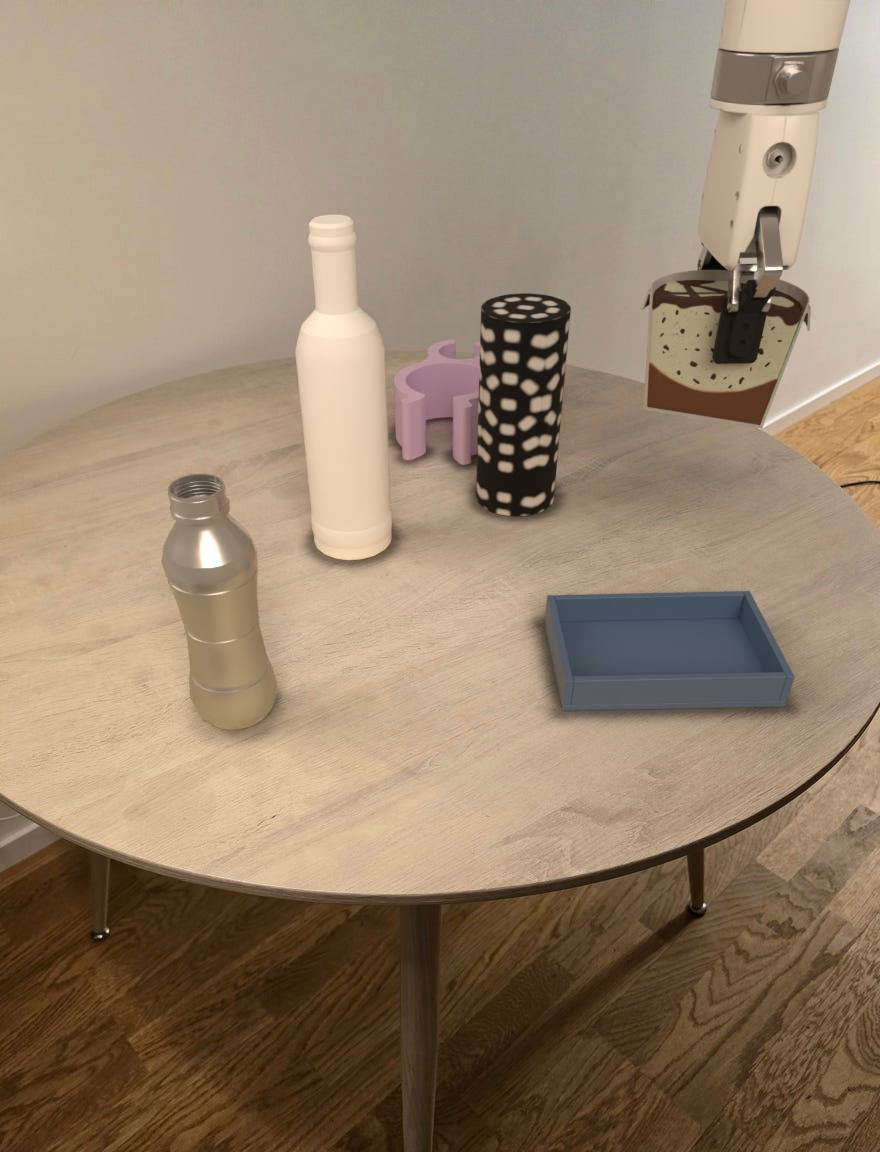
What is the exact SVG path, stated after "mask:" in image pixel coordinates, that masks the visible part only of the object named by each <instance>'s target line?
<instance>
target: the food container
mask: <svg viewBox="0 0 880 1152" xmlns="http://www.w3.org/2000/svg"><path fill="white" fill-rule="evenodd" d="M728 276H729V270H697V269H695V270H694V269H693V270H685V271H684V270H683V271H678V272H674V273H669V274H666V275H663V276H661V277H658V278H656V279H654V281H653V282H652V283H651V284H650V285H651V286H650V288H649V289H648V290H647V291H646V294H645V296H644V299H643V302H642V304H641V307H640V310H641V311H643V310H645V308H647V307H648V306H649V308H648V322H647V324H648V325H647V326H648V327H647V342H646V343H647V345H646V363H645V378H644V379H645V380H644V394H643V395H644V396H643V399H644V400H643V411H649V412H655V413H660V414H661V413H662V414H667V415H672V416H673V415H674V416H679V417H680V416H681V417H686V418H692V419H698V420H704V421H711V422H717V423H723V424H729V425H735V426H740V427H741V426H742V427H746V428H747V427H748V428H754V429H760V430H762V429H763V427H764V425H765V423H766V419H767V417H768V414H769V412H770V409H771V407H772V404H773V401H774V398H775V396H776V393H777V391H778V389H779V386H780V384H781V380H782V378H783V376H784V372H785V370H786V368H787V365H788V362H789V359H790V357H791V354H792V351H793V350H794V347H795V344H796V341H797V338H798V336H799V334H800V331H801V328H802V325H803V323H804V324H805V326H806V332H810V330H811V313H812V307H811V304H810V296H809V294H808V293H807V292H806V291H805V290H804V289H802V288H801V287H799V286H797V285H796V284H793V283H791V282H788V281H786V280H783V279H781V278H780V279H779V280H778V282H777V284H776V285H775V287H776V290H775V292H774V293H773V295H772V297H771V305H770V309H769V311H768V312H767V316H766V320H765V325H764V329H763V334H762V338H761V343H760V347H759V352H758V356H757V360H756V361H755V362H754V363H746V364H716V363H715V362H714V361H713V359H712V356H713V350H714V345H715V340H716V335H717V330H718V324H719V319H720V314H721V309H722V308H727V299H728ZM753 279H754V276H741V286H740V291H741V290H742V288H743V287H744V285H745V284H746V282H747V281H748V280H753Z"/></svg>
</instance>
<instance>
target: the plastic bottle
mask: <svg viewBox="0 0 880 1152" xmlns="http://www.w3.org/2000/svg"><path fill="white" fill-rule="evenodd" d="M167 495H168V500H169V504H170V506H169V511H170V515H171V518H172V519H173V520H174V523H173V525H172V527H171V529H170V530H169V532H168V534H167V537H166V538H165V541H164V544H163V546H162V553H161V554H162V555H161V564H162V568H163V572H164V574H165V577H166V580H167V583H168V585H169V587H170V590H171V592H172V595H173V598H174V600H175V603H176V605H177V608H178V611H179V614H180V617H181V621H182V625H183V628H184V633H185V635H186V643H187V651H188V660H189V661H188V663H189V677H188V680H189V681H188V685H189V687H188V688H189V696H190V700H191V702H192V704H193V706H194V708H195V710H196V712H197V714H198V716H199V717H200V718H201V719H202V720H204V721H206V722H207V723H209V724H210V725H212V726H213V727H216V728H219V729H221V730H233V731H234V730H242V729H246V728H249V727H252V726H255V725H256V724H258V723H260V722H261V721H262V720H264V719H265V718H266V717H267V715H269V713H270V712H271V710H272V709H273V708H274V705H275V702H276V699H277V688H278V686H277V685H278V683H277V678H276V675H275V672H274V669H273V666H272V663H271V660H270V658H269V656H268V653H267V649H266V645H265V642H264V638H263V635H262V630H261V625H260V615H259V602H258V601H259V600H258V578H259V577H258V576H259V575H258V574H259V573H258V572H259V557H258V556H259V555H258V547H257V545H256V542H255V541H254V539H253V537H252V535H251V533H249V531H248V530H247V529H246V527H244V526H243V525H242V524H241V523H240V521H238V520H236V519H235V518H234V517H233V516H232V515H230V511H231V503H230V499H229V497H228V495H227V489H226V485H225V483H224V480H223V479H222V478H221V477H219V476H218V475H214V474H210V473H192V474H187V475H183V476H180V477H178V478H176V479H175V480H172V482H170V483H169V484H168V487H167Z"/></svg>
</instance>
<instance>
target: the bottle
mask: <svg viewBox="0 0 880 1152" xmlns="http://www.w3.org/2000/svg"><path fill="white" fill-rule="evenodd" d="M308 231H309V233H308V237H307V243H308V245H309V247H310V254H311V267H312V268H311V269H312V281H313V288H314V289H313V290H314V303H315V308H314V310H313V311H312V312H311V313H310V314H309V315H308V317H306V319H305V320H304V321H303V322H302V324H301V326H300V329H299V333H298V336H297V341H296V342H297V343H296V346H295V352H294V353H295V363H296V373H297V382H298V393H299V402H300V403H299V405H300V412H301V413H300V414H301V422H302V434H303V440H304V441H303V442H304V452H305V453H304V454H305V461H306V463H305V464H306V472H307V483H308V492H309V501H310V511H311V515H310V523H311V530H312V533H313V541H314V545H315V547H316V549H317V550H318V551H320V552H321V553H322V554H323V555H325V556H328V557H330V558H333V559H336V560H344V561H360V560H365V559H369V558H372V557H375V556H376V555H379V554H380V553H382V552H383V551H385V550H386V549H387V548H388V547H389V545H390V544H391V542H392V536H393V535H392V533H393V532H392V527H393V512H392V510H393V509H392V506H391V484H390V483H391V480H390V456H389V455H390V454H389V428H388V427H389V425H388V402H387V400H388V399H387V374H386V350H385V349H386V348H385V347H386V346H385V344H384V340H383V337H382V335H381V332H380V329H379V327H378V325H377V322H376V321H375V320H374V318H373V317H372V316H370V315H369V314H368V313H367V312H366V311H365V310H364V309H363V308H361V307H360V305H359V291H358V287H359V286H358V273H357V272H358V269H357V255H356V254H357V253H356V252H357V251H356V244H357V242H358V237H357V236H358V235H357V233H356V231H355V221H354V220H353V219H352V218H351V217H350V216H348V215H345V214H323V215H319V216H315V217H314V218H312V219H311V220H310V221H309V223H308Z"/></svg>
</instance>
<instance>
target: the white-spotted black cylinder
mask: <svg viewBox="0 0 880 1152" xmlns="http://www.w3.org/2000/svg"><path fill="white" fill-rule="evenodd" d="M571 309H572V307H571V305H570V304H569V302H567V301H566V300H564V299H562V298H559V297H556V296H553V295H547V294H541V293H531V292H529V293H528V292H526V293H524V292H520V293H510V294H502V295H498V296H494V297H491V298H489V299H487V300H485V301H484V302H482V304H481V307H480V334H479V335H480V336H479V341H480V367H479V403H478V439H477V454H476V477H475V478H476V479H475V480H476V481H475V499H476V502H477V503H478V504H479V505H480V507H482V508H483V509H485V510H487V511H489V512H491V513H494V514H497V515H502V516H508V517H527V516H533V515H537V514H539V513H542V512H543V511H546V510H548V509H549V508H550V507H551V505H553V503H554V500H555V490H556V481H557V480H556V479H557V468H558V457H559V445H560V434H561V426H562V425H561V423H562V412H563V402H564V401H563V400H564V391H565V378H566V369H567V368H566V367H567V356H568V345H569V335H570V323H571V313H572V310H571Z"/></svg>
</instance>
